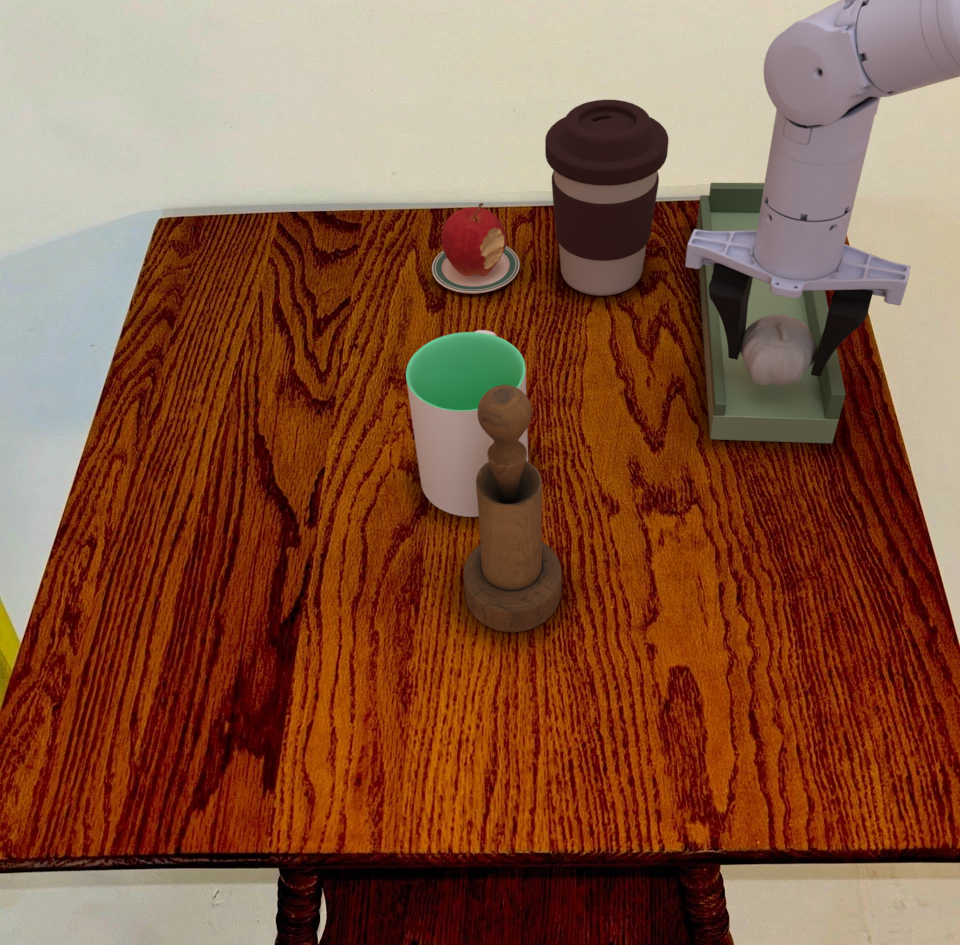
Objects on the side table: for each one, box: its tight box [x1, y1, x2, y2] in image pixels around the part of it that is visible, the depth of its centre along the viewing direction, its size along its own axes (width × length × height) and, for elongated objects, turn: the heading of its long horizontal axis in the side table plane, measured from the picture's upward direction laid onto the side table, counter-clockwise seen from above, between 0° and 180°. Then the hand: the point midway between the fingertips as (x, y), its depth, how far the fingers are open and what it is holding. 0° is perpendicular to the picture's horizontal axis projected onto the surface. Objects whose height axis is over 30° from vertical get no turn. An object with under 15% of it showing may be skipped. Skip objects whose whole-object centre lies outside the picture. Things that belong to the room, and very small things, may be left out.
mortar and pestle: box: [463, 385, 563, 633], centre depth 63 cm, size 7×6×18 cm
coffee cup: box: [544, 99, 670, 296], centre depth 88 cm, size 10×10×15 cm
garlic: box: [740, 314, 817, 385], centre depth 76 cm, size 6×5×5 cm
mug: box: [405, 329, 529, 518], centre depth 75 cm, size 12×8×10 cm
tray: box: [695, 182, 846, 444], centre depth 86 cm, size 28×9×5 cm, turn 174°
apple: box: [431, 202, 520, 294], centre depth 92 cm, size 8×8×6 cm
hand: (775, 358), depth 76 cm, fingers closed on garlic, 5 cm apart
